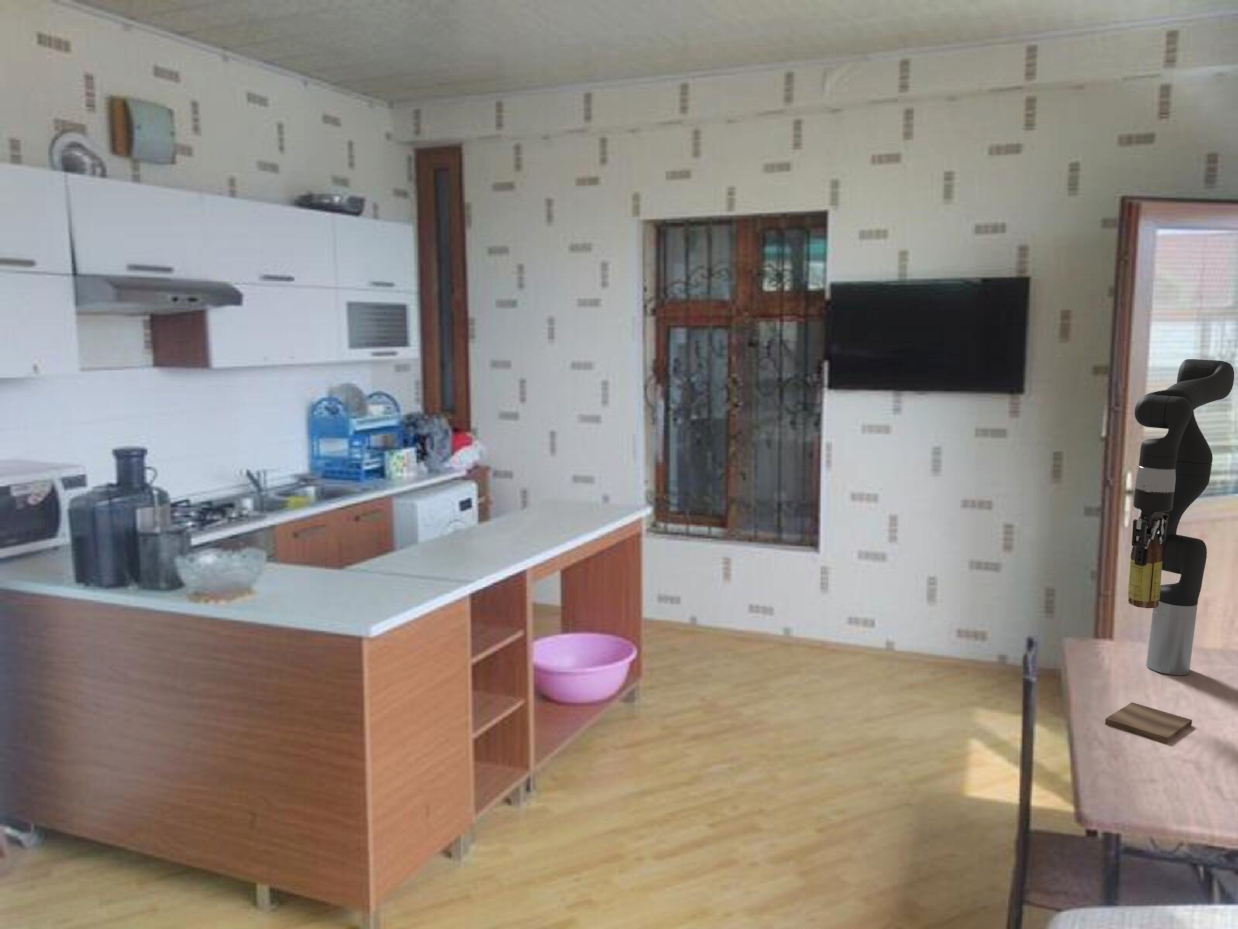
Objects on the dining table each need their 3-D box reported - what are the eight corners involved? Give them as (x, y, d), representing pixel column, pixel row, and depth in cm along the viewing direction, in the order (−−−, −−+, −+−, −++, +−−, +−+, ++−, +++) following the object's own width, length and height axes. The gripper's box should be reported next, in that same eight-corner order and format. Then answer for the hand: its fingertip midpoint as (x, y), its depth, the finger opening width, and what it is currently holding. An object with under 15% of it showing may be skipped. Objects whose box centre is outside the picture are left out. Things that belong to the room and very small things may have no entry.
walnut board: (1131, 707, 214) (1132, 702, 214) (1191, 725, 206) (1192, 720, 205) (1105, 724, 205) (1105, 718, 205) (1166, 743, 196) (1167, 737, 196)
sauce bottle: (1151, 602, 219) (1161, 514, 216) (1163, 610, 213) (1174, 520, 210) (1120, 600, 219) (1130, 513, 216) (1132, 608, 213) (1142, 519, 210)
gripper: (1149, 482, 219) (1140, 554, 222) (1123, 488, 210) (1115, 564, 212) (1185, 486, 214) (1176, 561, 216) (1160, 493, 204) (1152, 571, 207)
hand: (1146, 562), depth 214 cm, fingers closed on sauce bottle, 6 cm apart
